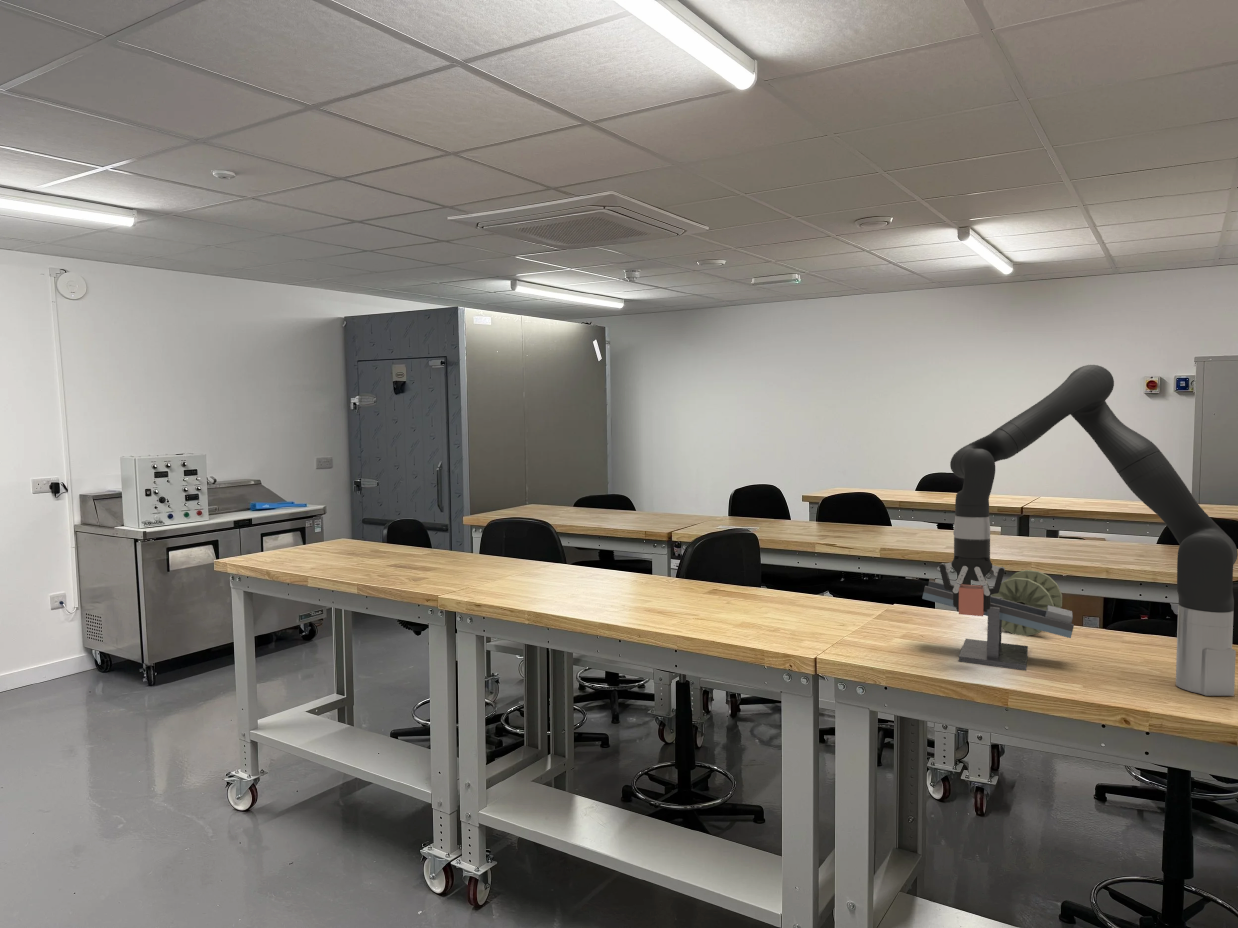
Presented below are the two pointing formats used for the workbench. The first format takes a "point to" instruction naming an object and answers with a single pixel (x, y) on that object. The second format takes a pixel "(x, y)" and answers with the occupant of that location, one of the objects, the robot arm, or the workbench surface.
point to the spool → (1029, 596)
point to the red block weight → (971, 600)
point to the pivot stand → (994, 647)
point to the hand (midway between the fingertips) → (971, 609)
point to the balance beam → (1013, 611)
